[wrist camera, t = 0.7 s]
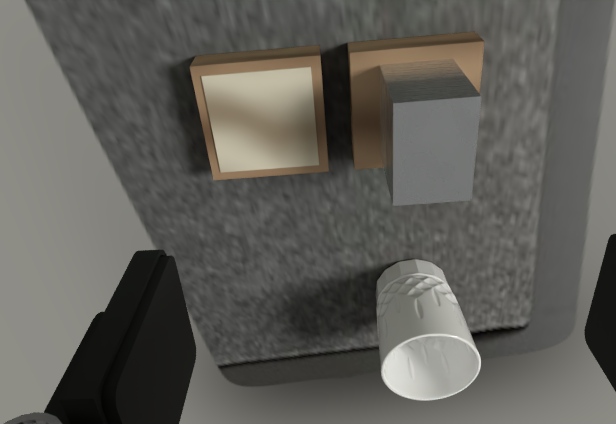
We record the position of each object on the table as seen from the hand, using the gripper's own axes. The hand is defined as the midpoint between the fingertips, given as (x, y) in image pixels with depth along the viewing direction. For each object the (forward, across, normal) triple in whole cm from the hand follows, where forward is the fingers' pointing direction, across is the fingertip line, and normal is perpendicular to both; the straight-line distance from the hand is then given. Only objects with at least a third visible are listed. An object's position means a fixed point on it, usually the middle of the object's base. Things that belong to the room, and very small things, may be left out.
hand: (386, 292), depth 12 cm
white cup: (+31, -6, +25) cm, 40 cm away
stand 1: (+30, +6, +6) cm, 31 cm away
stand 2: (+30, -5, +6) cm, 31 cm away
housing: (+27, -5, +6) cm, 28 cm away
